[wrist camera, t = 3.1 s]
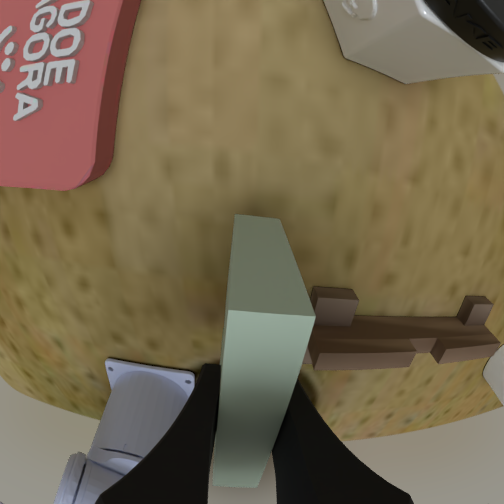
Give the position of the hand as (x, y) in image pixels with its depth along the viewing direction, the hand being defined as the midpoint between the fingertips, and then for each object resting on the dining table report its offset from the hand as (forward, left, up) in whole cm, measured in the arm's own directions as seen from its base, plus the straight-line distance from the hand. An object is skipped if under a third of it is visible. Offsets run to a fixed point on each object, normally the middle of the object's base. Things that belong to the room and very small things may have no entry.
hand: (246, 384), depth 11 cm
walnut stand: (-4, -14, -10) cm, 18 cm away
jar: (+18, -7, -11) cm, 22 cm away
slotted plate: (0, 0, -5) cm, 5 cm away
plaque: (+14, +16, -11) cm, 24 cm away
